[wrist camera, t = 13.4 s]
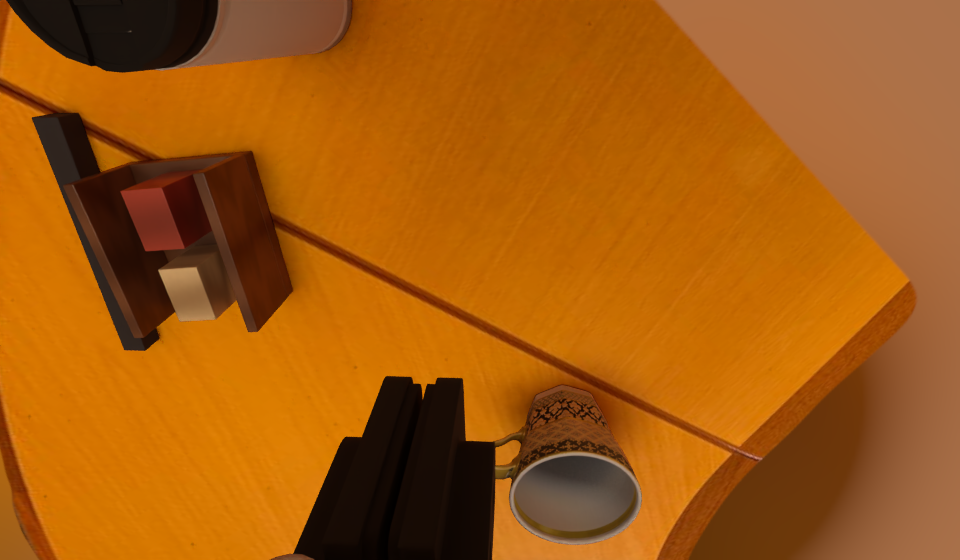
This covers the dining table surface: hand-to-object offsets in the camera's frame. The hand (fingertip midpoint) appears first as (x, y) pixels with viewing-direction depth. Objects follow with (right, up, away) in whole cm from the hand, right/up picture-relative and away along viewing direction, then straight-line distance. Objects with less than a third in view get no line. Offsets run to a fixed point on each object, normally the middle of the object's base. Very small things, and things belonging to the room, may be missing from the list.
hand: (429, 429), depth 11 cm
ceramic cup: (+8, -9, +36) cm, 38 cm away
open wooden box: (-20, +7, +30) cm, 37 cm away
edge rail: (-30, +7, +31) cm, 44 cm away
